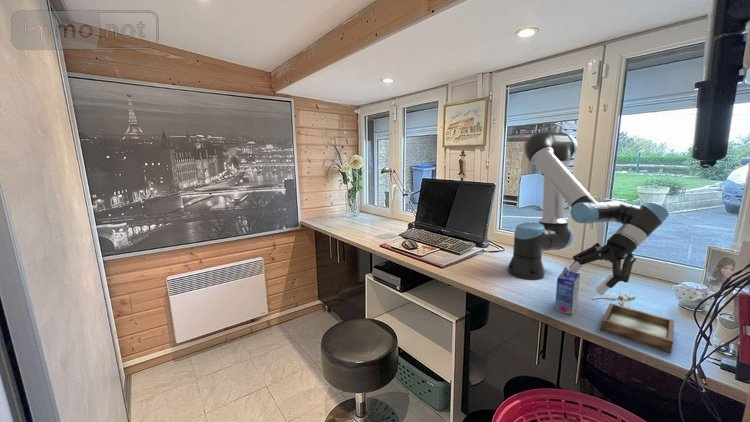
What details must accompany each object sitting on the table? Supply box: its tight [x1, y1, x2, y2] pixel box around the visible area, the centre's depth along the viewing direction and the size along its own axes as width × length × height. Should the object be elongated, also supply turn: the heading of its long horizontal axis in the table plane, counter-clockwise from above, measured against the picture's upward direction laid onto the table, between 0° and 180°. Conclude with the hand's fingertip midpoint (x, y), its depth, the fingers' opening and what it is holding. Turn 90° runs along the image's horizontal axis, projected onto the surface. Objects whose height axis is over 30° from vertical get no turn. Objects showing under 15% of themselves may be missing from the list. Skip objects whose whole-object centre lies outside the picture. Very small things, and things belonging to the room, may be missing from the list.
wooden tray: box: [599, 302, 675, 354], centre depth 90 cm, size 16×16×4 cm
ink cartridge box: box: [554, 266, 581, 316], centre depth 103 cm, size 10×6×14 cm, turn 137°
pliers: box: [591, 292, 636, 308], centre depth 109 cm, size 10×2×15 cm
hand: (581, 284), depth 101 cm, fingers open, 13 cm apart
